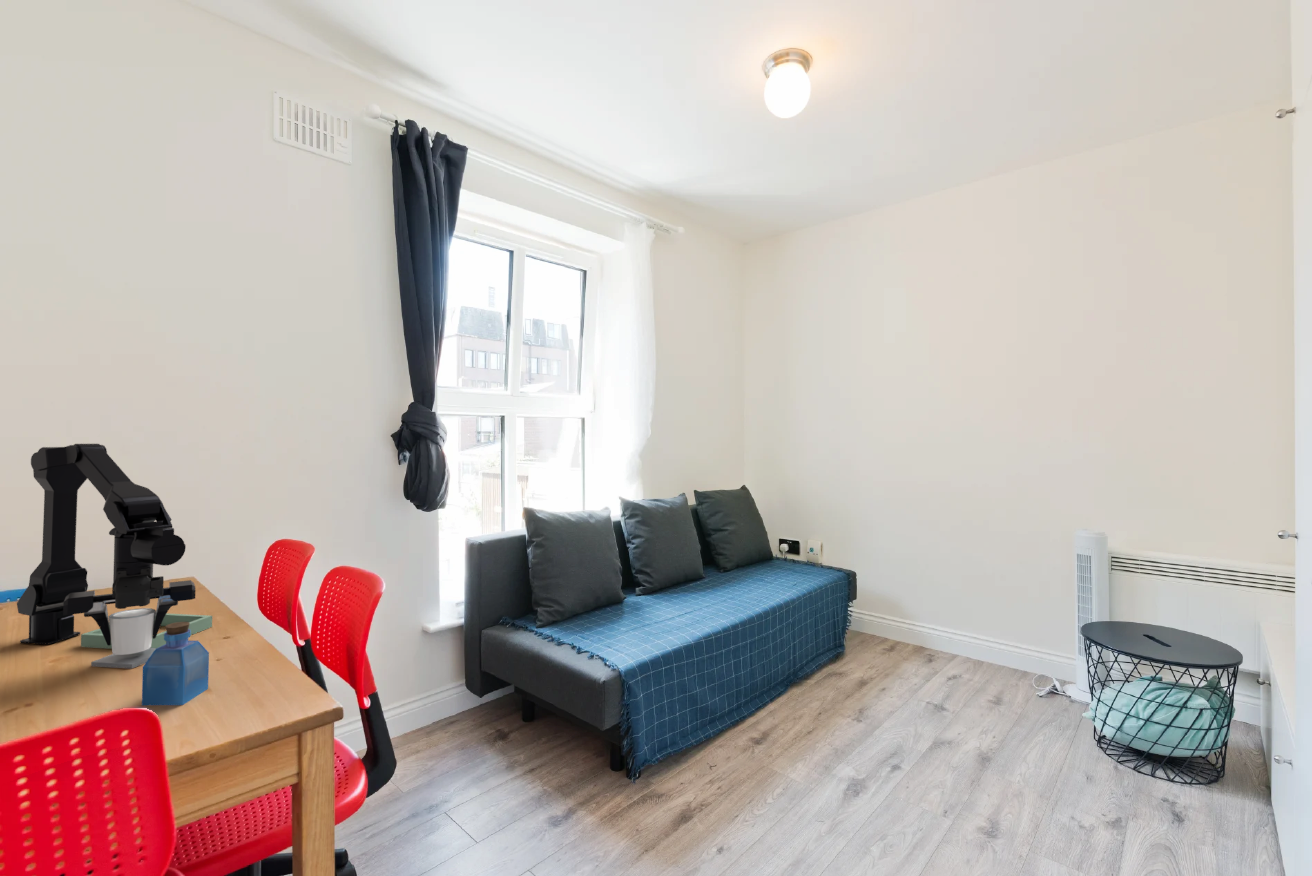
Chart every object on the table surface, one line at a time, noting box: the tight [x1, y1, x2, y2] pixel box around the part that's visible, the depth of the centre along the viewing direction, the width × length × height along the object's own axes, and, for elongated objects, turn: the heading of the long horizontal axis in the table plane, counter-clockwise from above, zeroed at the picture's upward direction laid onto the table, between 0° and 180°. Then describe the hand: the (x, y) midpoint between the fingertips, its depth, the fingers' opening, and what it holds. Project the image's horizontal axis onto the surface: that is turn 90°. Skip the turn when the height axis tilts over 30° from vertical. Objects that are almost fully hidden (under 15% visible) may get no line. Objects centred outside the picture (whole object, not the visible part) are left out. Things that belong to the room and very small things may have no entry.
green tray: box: [80, 612, 213, 650], centre depth 128 cm, size 15×15×2 cm
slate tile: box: [90, 648, 157, 669], centre depth 115 cm, size 8×8×1 cm
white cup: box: [108, 607, 156, 655], centre depth 115 cm, size 7×7×7 cm
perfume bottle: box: [141, 622, 210, 706], centre depth 100 cm, size 6×6×12 cm
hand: (131, 641), depth 115 cm, fingers closed on white cup, 6 cm apart
